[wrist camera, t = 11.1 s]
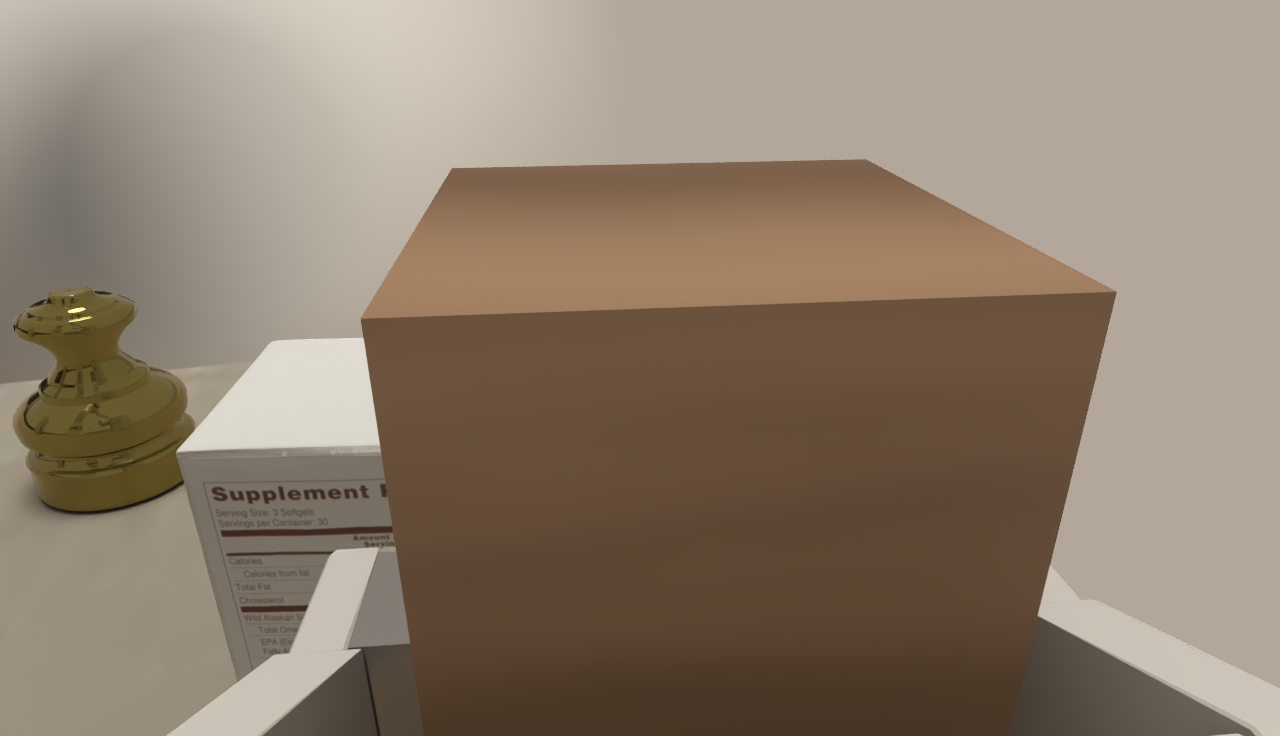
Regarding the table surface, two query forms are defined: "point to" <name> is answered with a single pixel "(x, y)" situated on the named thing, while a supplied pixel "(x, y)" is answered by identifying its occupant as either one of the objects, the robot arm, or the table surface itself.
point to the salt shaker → (98, 407)
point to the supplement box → (285, 487)
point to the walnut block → (724, 450)
